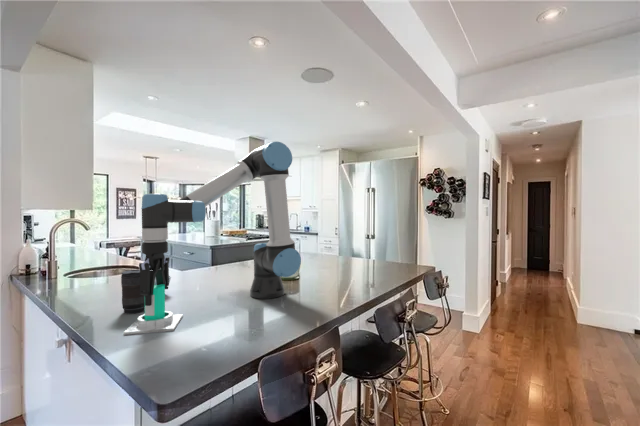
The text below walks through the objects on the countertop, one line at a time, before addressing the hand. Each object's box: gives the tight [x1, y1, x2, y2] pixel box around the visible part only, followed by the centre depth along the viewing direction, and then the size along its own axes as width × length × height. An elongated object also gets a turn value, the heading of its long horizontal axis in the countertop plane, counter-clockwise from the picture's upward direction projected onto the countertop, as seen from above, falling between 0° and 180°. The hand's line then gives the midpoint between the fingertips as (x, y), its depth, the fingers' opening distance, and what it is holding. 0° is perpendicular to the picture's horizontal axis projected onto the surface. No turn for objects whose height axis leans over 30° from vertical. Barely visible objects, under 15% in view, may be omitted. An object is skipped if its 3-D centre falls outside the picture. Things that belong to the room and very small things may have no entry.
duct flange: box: [122, 310, 184, 336], centre depth 103 cm, size 14×14×3 cm
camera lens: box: [120, 268, 145, 315], centre depth 118 cm, size 8×8×15 cm
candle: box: [145, 284, 166, 320], centre depth 103 cm, size 6×6×12 cm
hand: (155, 312), depth 103 cm, fingers closed on candle, 5 cm apart
